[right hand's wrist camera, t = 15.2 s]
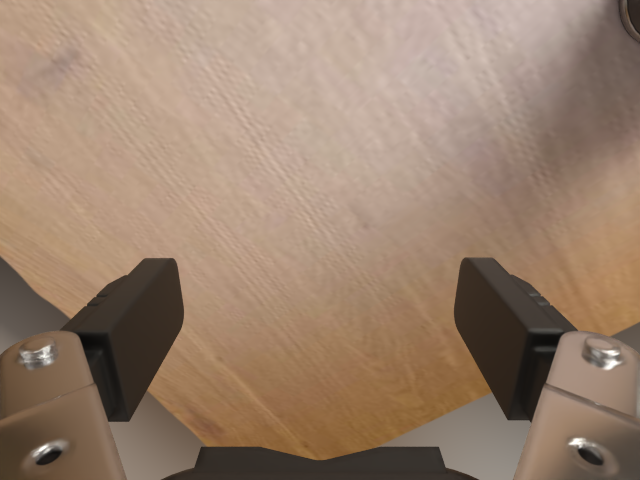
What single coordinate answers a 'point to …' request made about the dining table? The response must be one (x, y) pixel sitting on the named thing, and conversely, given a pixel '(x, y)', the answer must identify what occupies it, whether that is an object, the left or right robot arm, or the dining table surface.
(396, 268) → the dining table surface
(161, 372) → the dining table surface
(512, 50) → the dining table surface
